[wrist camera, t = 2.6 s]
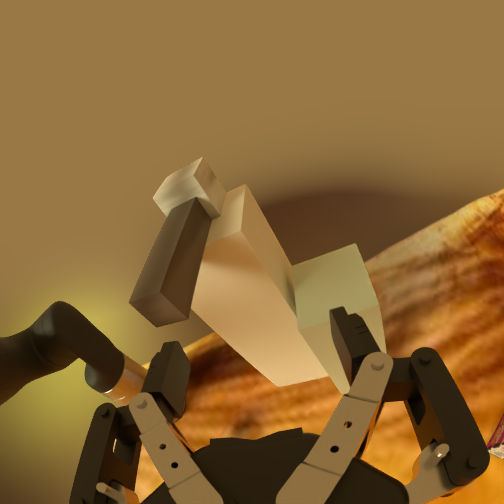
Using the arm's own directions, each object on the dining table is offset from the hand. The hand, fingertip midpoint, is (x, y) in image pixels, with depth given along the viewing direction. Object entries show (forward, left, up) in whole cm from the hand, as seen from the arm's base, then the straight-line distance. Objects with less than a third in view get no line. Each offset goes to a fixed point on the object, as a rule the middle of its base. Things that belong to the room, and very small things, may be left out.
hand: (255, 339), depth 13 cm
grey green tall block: (+3, +12, -32) cm, 35 cm away
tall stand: (-7, +16, -32) cm, 36 cm away
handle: (-7, +12, 0) cm, 13 cm away
